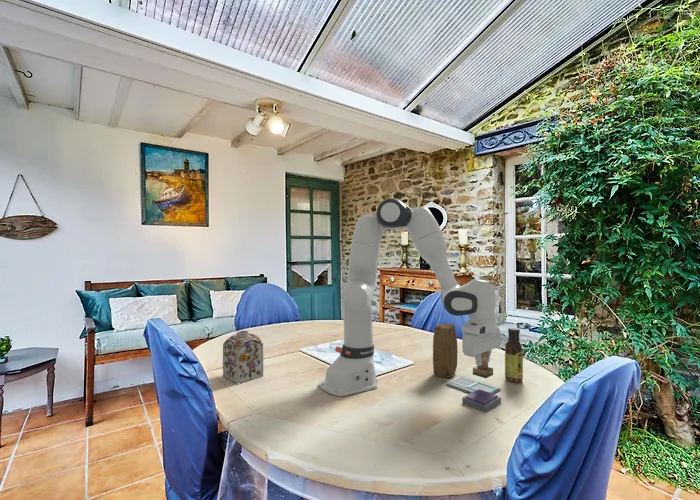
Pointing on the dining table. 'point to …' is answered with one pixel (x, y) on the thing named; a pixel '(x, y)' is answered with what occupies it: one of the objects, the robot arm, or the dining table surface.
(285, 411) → the dining table surface
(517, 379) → the sauce bottle
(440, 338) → the block
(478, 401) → the ink pad
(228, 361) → the decorative jar
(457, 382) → the board
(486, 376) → the stamp
